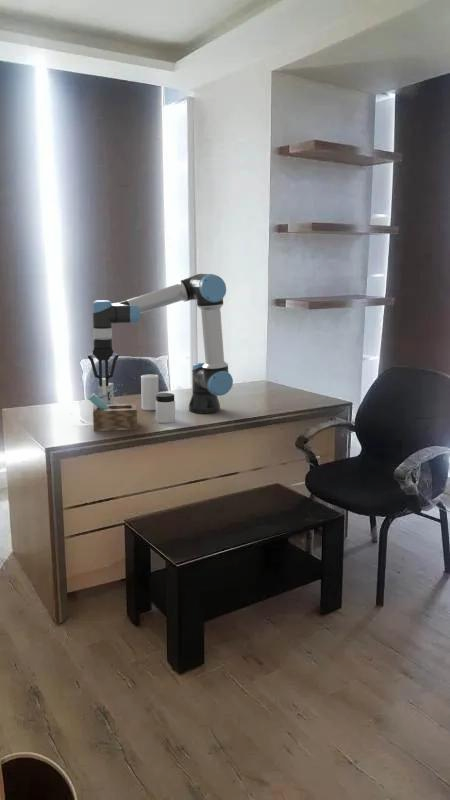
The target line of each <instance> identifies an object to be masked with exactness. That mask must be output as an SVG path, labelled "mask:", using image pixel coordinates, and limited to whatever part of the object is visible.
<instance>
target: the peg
mask: <svg viewBox="0 0 450 800" xmlns="http://www.w3.org/2000/svg"><path fill="white" fill-rule="evenodd" d="M88 400H89V401H90V402H91V403H92V405H95V406H96V407H98V408H99V409H111V408H109V407H108V406H107V405H106V404H105V403H104V402H103V401H102V400H101V399H100V398H99V397H98V395H97V394H96V393H92V394H91V395H90V396H89V397H88Z"/></svg>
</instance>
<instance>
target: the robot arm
mask: <svg viewBox="0 0 450 800" xmlns="http://www.w3.org/2000/svg"><path fill="white" fill-rule="evenodd" d="M226 293H227V286H226V282H225V281H224V279H223V278H221V277H220V276H219V275H216V274H214V273H197V274H194V275H192V276H189V277H187V278H185V279H181V280H179V281H178V282H177V283H176V284H174V285H170V286H168V287H164V288H161V289H159V290H158V289H157V290H154V291H150V292H148V293H145V294H142V295H139V296H135V297H133V298H130V299H125V300H124V301H123V300H122V301H120V302H119V301H118V302H113V303H112V301H110V300H94V301H93V303H92V322H93V323H92V325H93V326H92V327H93V329H92V332H93V333H92V334H93V349H92V352H91V353H90V354H87V358H88V360H89V361H90V365H91V368H92V371H93V375H94V378H97V379H98V380H99V381H98V385H99V386H102V395H103V394H106V386H108V385H109V383H110V382H109V379H110V378H113V377H114V376H113V375H114V371H115V366H116V363H117V360H118V359H119V353H118V354H117V353H115V352H114V349H113V338H112V337H113V329H112V325H113V324H114V325H115V324H137V323H139V322H140V321H141V314H143V313H147V312H150V311H153V310H157V309H160V308H163V307H166V306H169V305H171V304H175V303H178V302H181V301H182V302H184V303H185V302H189V301H195V300H196V307H198V308H199V310H200V312H201V313H200V314H201V323H202V324H201V325H202V327H201V328H202V335H203V336H202V339H203V348H204V359H205V361H204V362H198V363H194V364H193V365H192V370H191V372H192V375H191V376H192V387H191V388H192V395H191V398H190V400H189V404H188V411H189V412H192V413H196V414H213V413H218V412H220V411H221V404H220V400H219V398H218V397H219V396H224V395H226V394H228V392H230V390H231V389H232V387H233V383H234V379H233V376H232V374H231V373H230V372H229V364H228V363H227V362H226V361H225V354H224V341H223V340H224V339H223V329H222V327H223V326H222V315H221V308H223V305H224V298H225V296H226ZM94 358H96V359H97V361H98V372H97V368H96V367H97V366H96V364H95V360H94ZM111 358H112V359H113V360H112V364H111V367H110V371H109V360H110V359H111ZM103 361H104V368H105V369H104V370H105V371H104V374H105V375H104V376H105V377H103V368H102V367H103V366H102V365H103V364H102V363H103Z"/></svg>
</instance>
